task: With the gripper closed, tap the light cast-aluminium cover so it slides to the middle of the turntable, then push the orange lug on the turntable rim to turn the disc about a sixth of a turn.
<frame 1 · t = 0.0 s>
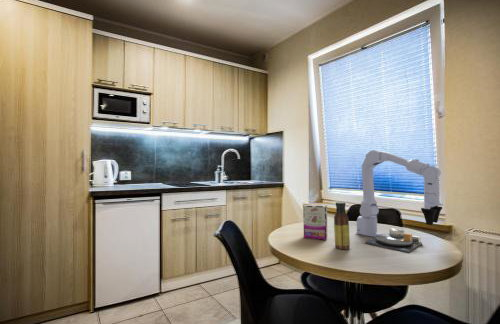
hand: (432, 223, 120), 10 cm above the table, tool pointing down, fingers open, 7 cm apart
cover: (396, 236, 126), point 3 cm above the table, touching turntable
base plate: (393, 243, 123), on the table
sauce bottle: (341, 248, 117), on the table
candy bar box: (315, 238, 133), on the table
turntable: (393, 236, 123), point 3 cm above the table, hinge at 0.0°, touching cover
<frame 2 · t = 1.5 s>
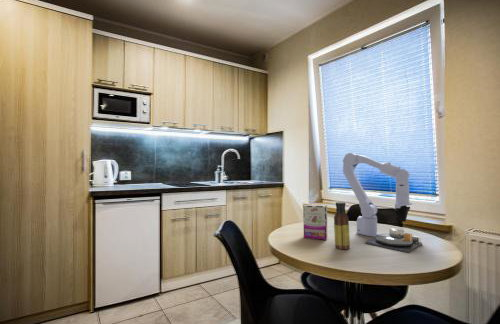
hand: (402, 221, 131), 9 cm above the table, tool pointing down, fingers closed
nothing on the table moved.
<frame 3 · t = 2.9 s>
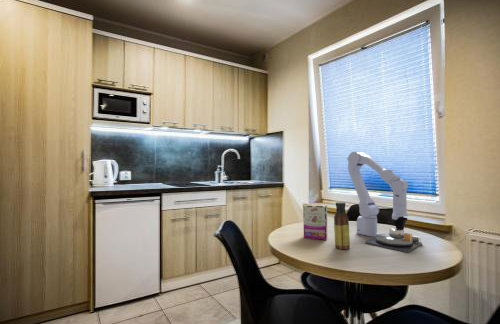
hand: (399, 232, 128), 4 cm above the table, tool pointing down, fingers closed
cover: (396, 236, 126), point 3 cm above the table, touching gripper
turntable: (393, 236, 123), point 3 cm above the table, hinge at 0.0°
everything else where it was.
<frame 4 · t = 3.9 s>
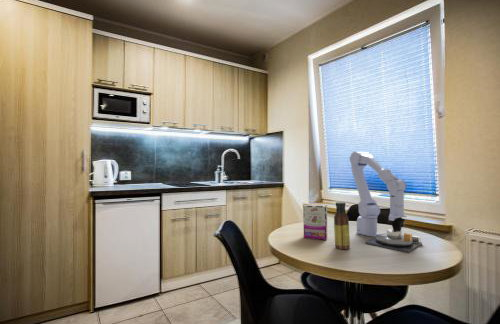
hand: (397, 233, 126), 4 cm above the table, tool pointing down, fingers closed
cover: (394, 237, 123), point 3 cm above the table, touching gripper, turntable
turntable: (393, 236, 123), point 3 cm above the table, hinge at 0.0°, touching cover
everything else where it was.
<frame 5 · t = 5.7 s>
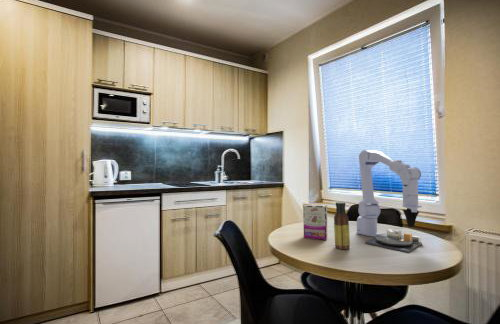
hand: (410, 226, 116), 10 cm above the table, tool pointing down, fingers closed
cover: (394, 237, 123), point 3 cm above the table, touching turntable
everything else where it was.
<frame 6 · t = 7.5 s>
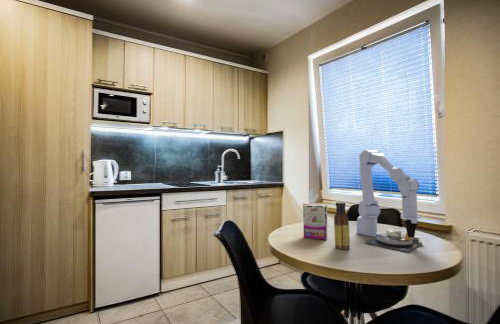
hand: (411, 237, 118), 4 cm above the table, tool pointing down, fingers closed, pressing on turntable
turntable: (393, 236, 123), point 3 cm above the table, hinge at 16.9°, touching cover, gripper
everything else where it was.
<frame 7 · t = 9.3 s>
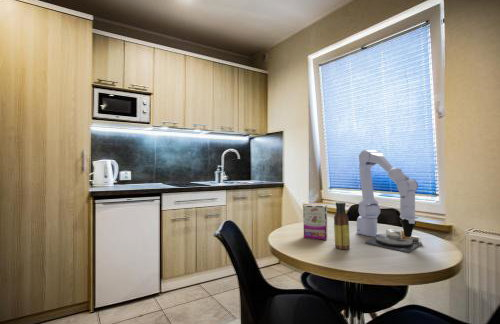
hand: (407, 236, 119), 4 cm above the table, tool pointing down, fingers closed
turntable: (393, 236, 123), point 3 cm above the table, hinge at 54.1°, touching cover
everything else where it was.
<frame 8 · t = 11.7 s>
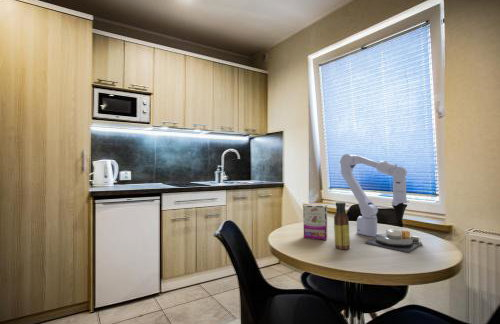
hand: (399, 218, 131), 10 cm above the table, tool pointing down, fingers closed
nothing on the table moved.
at the end: cover 0.3 cm from the turntable (horizontally); turntable at +54° (first picture: +0°); cover tilted 0° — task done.
